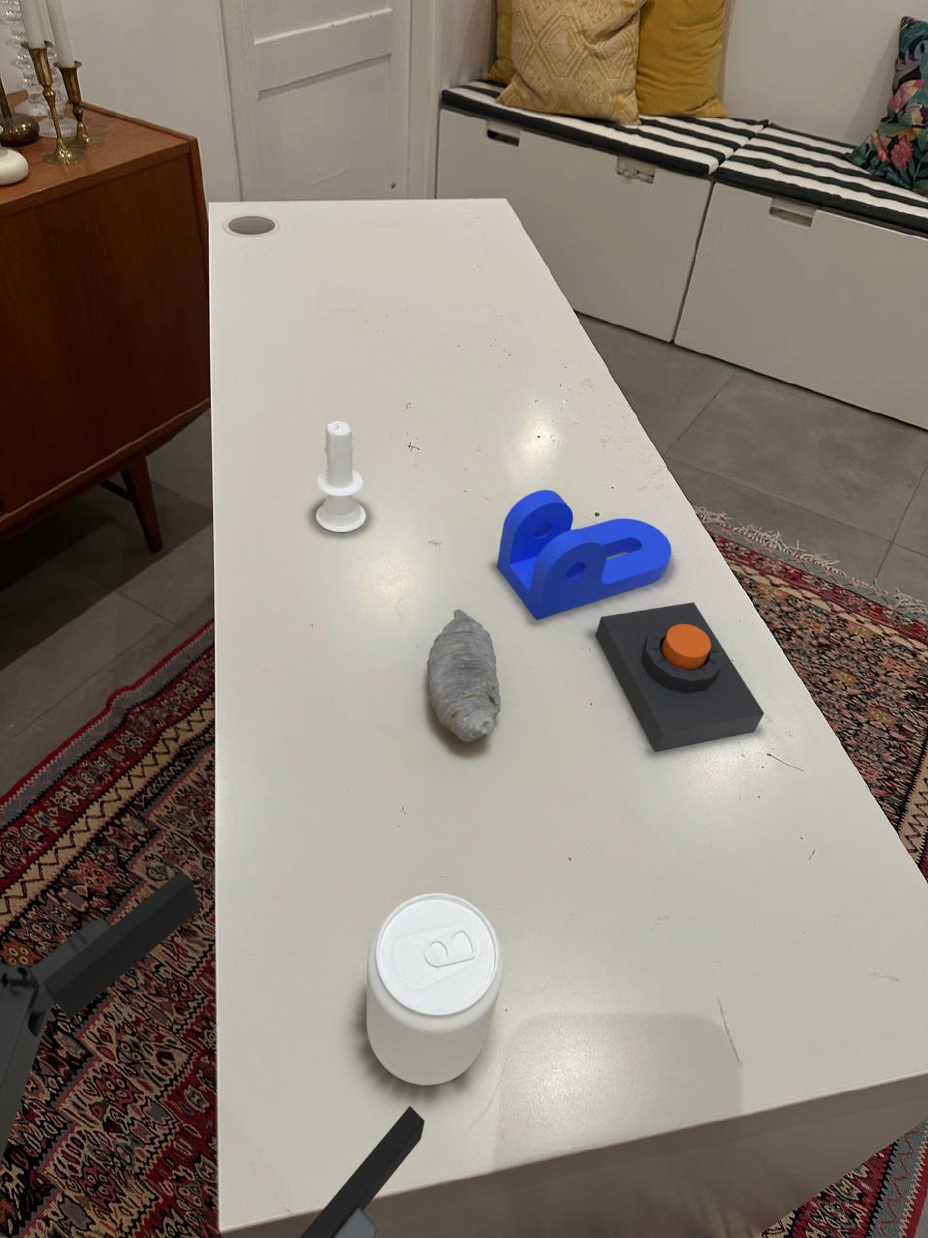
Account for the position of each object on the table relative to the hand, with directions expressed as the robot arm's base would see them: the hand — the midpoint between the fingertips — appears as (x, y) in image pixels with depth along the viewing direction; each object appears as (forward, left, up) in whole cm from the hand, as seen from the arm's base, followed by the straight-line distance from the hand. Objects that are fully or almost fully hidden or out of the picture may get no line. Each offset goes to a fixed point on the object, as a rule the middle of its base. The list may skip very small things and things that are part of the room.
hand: (295, 996), depth 36 cm
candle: (+58, -12, -25) cm, 64 cm away
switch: (+29, -38, -20) cm, 52 cm away
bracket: (+45, -36, -25) cm, 63 cm away
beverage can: (+5, -8, -25) cm, 27 cm away
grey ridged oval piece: (+32, -18, -25) cm, 44 cm away
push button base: (+29, -38, -24) cm, 54 cm away
